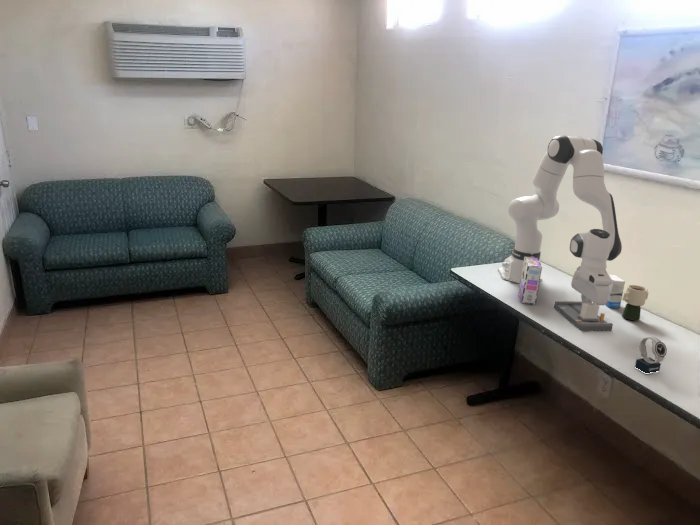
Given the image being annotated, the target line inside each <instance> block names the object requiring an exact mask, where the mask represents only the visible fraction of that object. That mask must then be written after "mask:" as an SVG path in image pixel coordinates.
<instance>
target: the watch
mask: <svg viewBox="0 0 700 525" xmlns="http://www.w3.org/2000/svg"><path fill="white" fill-rule="evenodd" d="M648 340H651V345H652V346H651V352H652V354H653V356H654V358H655V359H653V358H652V357H651V356H649V357H648V352H647V351H648V350H647V345H646V342H647V341H648ZM638 347H639V354H640V357H641V358H636V361H635V365H634V368H635V367H636V368H638V369H640V370H641V371H643V372H645V373H650V372H656V371H659V372H660V370H661V365H662V363H661V362H662V361H664V359H665V358H666V355H667V353H668V349H667V346H666V344H665V342H662V340H661V339H659V338H658V337H655V336H648V337H644V338H642V339H641V340H640V342H639V345H638ZM641 371H640V372H641Z"/></svg>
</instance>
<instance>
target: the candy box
mask: <svg viewBox="0 0 700 525" xmlns="http://www.w3.org/2000/svg"><path fill="white" fill-rule="evenodd" d="M539 261H540V259H539V260H538V258H533V257H524V262H523V268H522V275H521V282H520V283H519V287H518V288H519V289H518V295H519V298H520V302H521V303H522V304H526V305H527V304H528V305H535V306H536V304H537V298H538V292H539V286H540V282H541V281H540V277H542V270H543V267H542V263H541V261H540V262H539ZM540 263H541V264H540Z"/></svg>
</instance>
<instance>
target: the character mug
mask: <svg viewBox="0 0 700 525" xmlns="http://www.w3.org/2000/svg"><path fill="white" fill-rule="evenodd" d="M648 297H649V291H648V288H646V287H645V286H642V285H637V284H628V285H627V287H626V290H625V292H623V295H622V300H623V301H624V302H625V303H626V304H625V306H624V309H623V312H622V317H623V318H625V319H626V320H631V321H634V322H635V321H636V322H638V321H640V319H641V318H640V317H641V308H642V306H644V305H645V304H646V300H648Z"/></svg>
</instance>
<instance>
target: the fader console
mask: <svg viewBox="0 0 700 525" xmlns="http://www.w3.org/2000/svg"><path fill="white" fill-rule="evenodd" d="M581 304H582V300H581V301H578V300H577V301H573V300H572V301H571V300H569V301H568V300H555V301H554V303H553V309H554V310H555V311H557V312H558V313H559V314H560V315H561V316H562V317H563V318H565V319H566V320H567V321H569V323H571V324H572V325H573V326H574V327H575V328H576V329H577V330H579V331H580V332H612V331H613V325H614V324H613V322H608V321H606V320H605V315H606V313H604V312H601V313H600V315H599V314H598V315H597V318H598V319H599V320H598V321H583V320H582V319H581V318H579V317H578V314H581V309H582V305H581Z"/></svg>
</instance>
